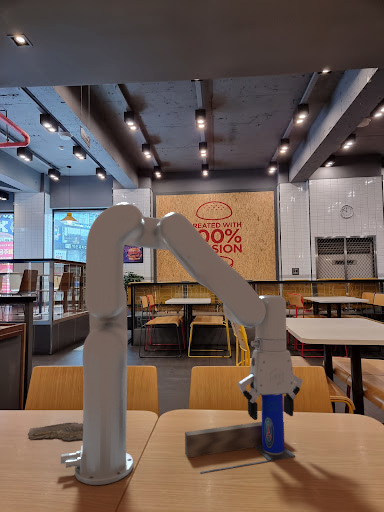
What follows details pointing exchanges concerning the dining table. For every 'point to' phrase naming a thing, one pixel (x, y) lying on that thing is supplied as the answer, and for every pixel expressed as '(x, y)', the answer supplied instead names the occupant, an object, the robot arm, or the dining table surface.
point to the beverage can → (272, 424)
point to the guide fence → (229, 442)
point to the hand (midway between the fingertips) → (271, 416)
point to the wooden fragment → (58, 432)
